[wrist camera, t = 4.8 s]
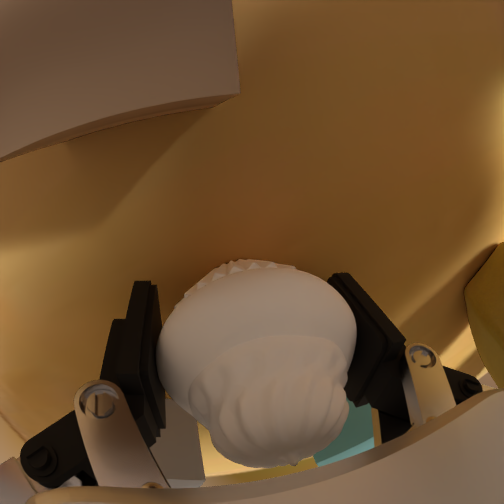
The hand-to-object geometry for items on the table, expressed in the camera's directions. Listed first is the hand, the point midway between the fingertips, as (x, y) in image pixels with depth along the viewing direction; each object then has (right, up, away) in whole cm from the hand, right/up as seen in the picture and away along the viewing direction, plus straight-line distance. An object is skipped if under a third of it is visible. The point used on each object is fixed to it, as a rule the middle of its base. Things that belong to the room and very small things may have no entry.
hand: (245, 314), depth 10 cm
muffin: (0, +1, +1) cm, 1 cm away
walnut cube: (-4, +8, -4) cm, 10 cm away
